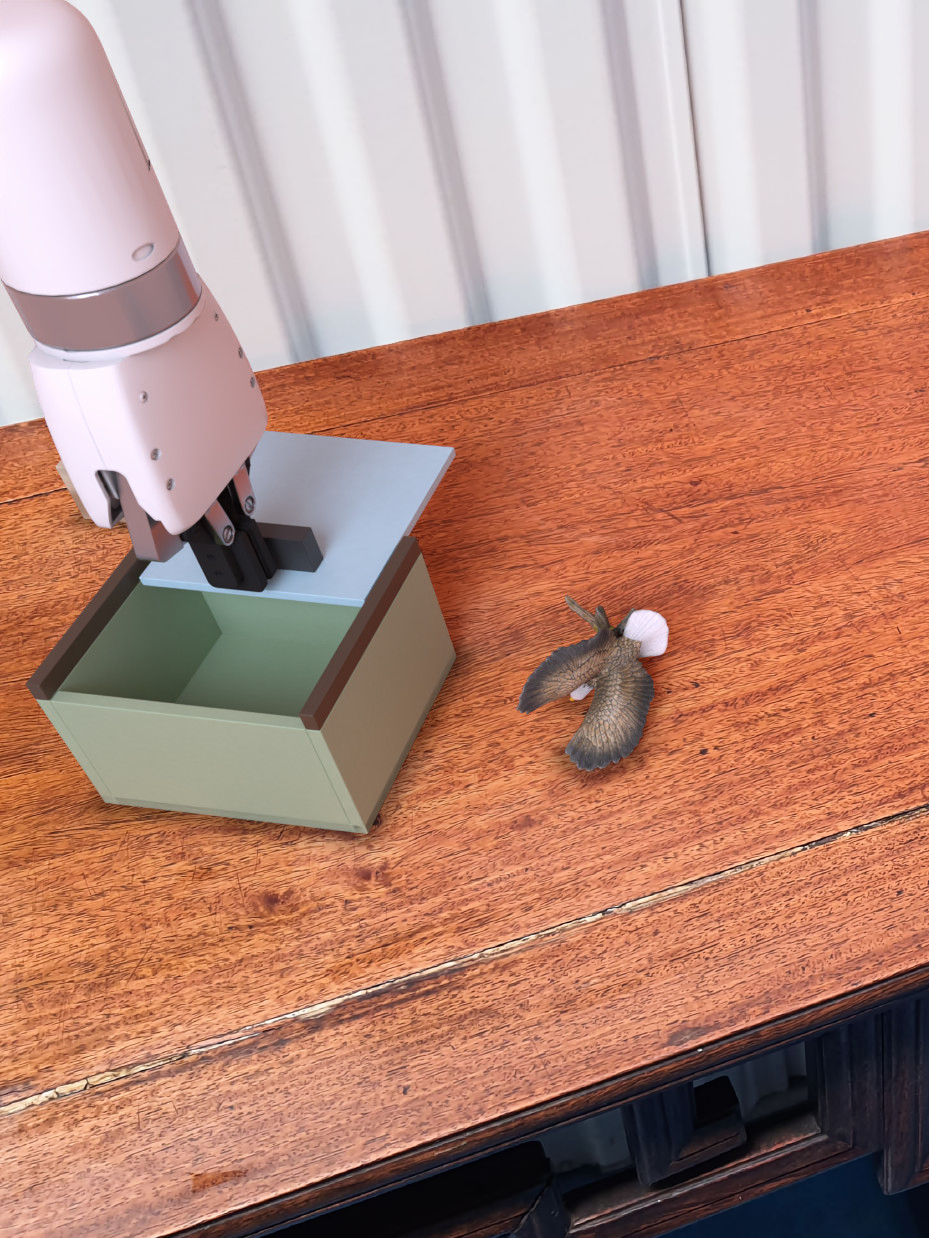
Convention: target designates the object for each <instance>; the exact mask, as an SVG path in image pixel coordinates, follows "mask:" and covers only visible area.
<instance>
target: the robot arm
mask: <svg viewBox="0 0 929 1238" xmlns="http://www.w3.org/2000/svg"><path fill="white" fill-rule="evenodd" d="M118 82H119V81H118V79H117V76H116V75H115V72H114V70H113V67H112V65H111V63H110V60H109V58H108V56H107V53H106V51H105V48H104V46H103V43H102V41H101V39H100V37H99V36H98V33H97V32H96V30H95V28H94V27H93V25H92V24H91V22H90V20H89V19H88V18H87V16H85V14H83V12H82V11H80V10H79V9H78V8H77V7H75V6H74V5H73V4H72V3H70V2H68V1H67V0H0V281H1V283H2V285H3V287H4V288H5V290H6V293H7V295H8V296H9V298H10V300H11V302H12V304H13V306H14V307H15V310H16V311H17V313H18V315H19V317H20V319H21V321H22V323H23V325H24V327H25V328H26V331H27V332H28V334H29V336H30V337H31V339H32V342H33V343H34V347H33V349H32V350H31V351H30V353H29V354H28V356H27V359H28V364H29V369H30V373H31V378H32V382H33V385H34V389H35V393H36V396H37V399H38V400H37V401H38V403H39V406H40V409H41V412H42V414H43V418H44V420H45V423H46V426H47V428H48V430H49V434H50V437H51V438H52V441H53V443H54V446H55V448H56V451H57V453H58V455H59V457H60V461H61V460H62V462H63V464H64V466H65V469H66V471H67V473H68V475H69V477H70V479H71V481H72V483H73V486H74V488H75V489H76V491H77V493H78V495H79V497H80V499H81V501H82V503H83V505H84V507H85V509H86V511H87V512H88V514H89V516H90V517H91V519H92V522H93V523H94V524H95V525H96V526H97V527H99V528H102V529H109V530H110V529H111V530H113V528H114V527H115V526H116V524H118V523H120V522H119V521H120V520H121V519H122V518H123V517H125V521H126V523H125V524H126V527H127V531H128V534H129V538H130V541H131V544H132V547H133V548H134V551H135V555H136V557H137V558H138V559H139V560H143V561H153V562H162V563H165V562H167V561H168V560H169V559H170V558H172V557H173V556H174V555H175V554H177V553H178V552H179V551H180V550H182V549H183V548H184V547H183V546H184V545H185V544H186V543H187V542H188V543H189V545H190V547H191V549H192V551H193V553H194V555H195V557H196V559H197V561H198V563H199V565H200V567H201V569H202V571H203V573H204V575H205V577H206V579H207V581H208V583H209V584H210V585H211V586H213V587H215V588H222V589H231V590H241V591H250V592H263V591H264V589H265V588H266V586H267V585H268V581H267V579H271V578H272V577H273V576H274V574H275V573H276V571H277V568H276V566H275V564H274V561H273V559H272V557H271V555H270V552H269V550H268V548H267V546H266V543H265V541H264V539H263V537H262V534H261V532H260V530H259V528H258V525H257V523H256V521H255V519H252V518H250V516H251V515H253V513H254V512H255V509H256V498H255V495H254V492H253V489H252V485H251V482H250V479H249V474H250V467H251V464H250V459H251V457H252V455H253V453H254V451H255V449H256V446H257V444H258V442H259V440H260V439H261V437H262V435H263V434H264V431H266V430H267V429H266V428H267V426H268V421H269V415H268V411H267V407H266V402H265V399H264V396H263V394H262V391H261V390H262V389H261V388H260V385H259V382H258V380H257V378H256V375H255V373H254V370H253V368H252V366H251V364H250V363H251V362H250V361H249V359H248V357H247V355H246V353H245V351H244V349H243V347H242V345H241V342H240V340H239V339H238V337H237V334H236V333H235V331H234V329H233V327H232V325H231V323H230V321H229V319H228V317H227V316H226V314H225V313H224V310H223V308H222V307H221V306H220V304H219V302H218V301H217V299H216V297H215V295H214V294H213V293H212V291H211V289H210V288H209V287H208V285H207V284H206V282H205V281H204V280H203V278H202V277H201V275H200V274H199V272H197V271H196V268H195V266H194V264H193V261H192V259H191V256H190V254H189V251H188V249H187V247H186V244H185V241H184V239H183V237H182V234H181V232H180V229H179V227H178V225H177V222H176V219H175V217H174V215H173V212H172V210H171V208H170V205H169V202H168V200H167V197H166V196H165V192H164V190H163V188H162V186H161V184H160V181H159V179H158V177H157V174H156V172H155V168H154V166H153V164H152V162H151V159H150V156H149V154H148V152H147V150H146V147H145V144H144V142H143V140H142V137H141V135H140V132H139V130H138V128H137V125H136V122H135V120H134V118H133V116H132V113H131V111H130V108H129V106H128V104H127V101H126V99H125V96H124V94H123V91H122V89H121V87H120V84H119V83H118ZM91 519H90V520H91Z"/></svg>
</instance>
